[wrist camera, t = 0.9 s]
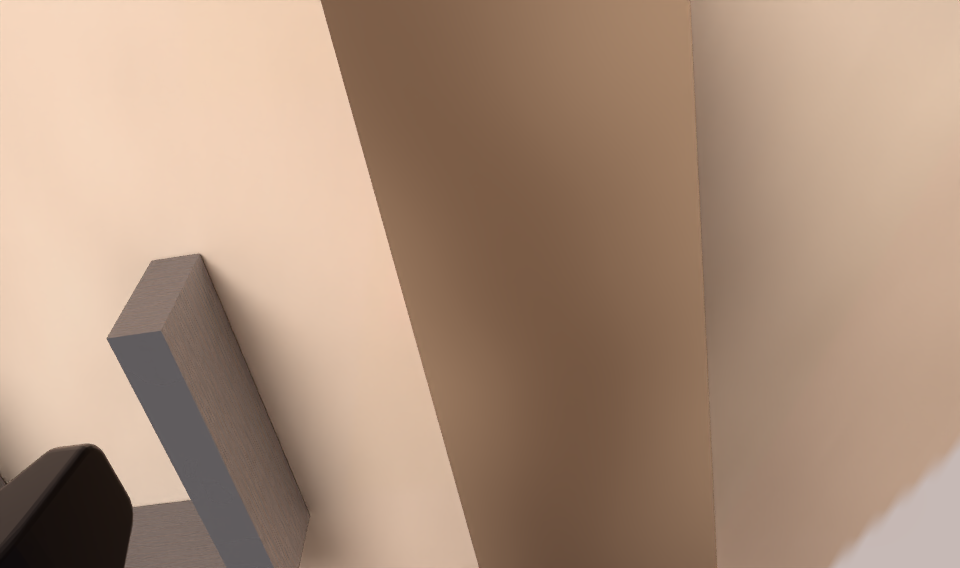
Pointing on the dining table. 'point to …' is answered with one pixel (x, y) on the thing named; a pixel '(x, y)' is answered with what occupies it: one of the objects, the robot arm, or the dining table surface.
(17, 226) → the dining table surface
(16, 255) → the dining table surface
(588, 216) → the walnut top rail
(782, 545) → the dining table surface
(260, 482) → the bracket
